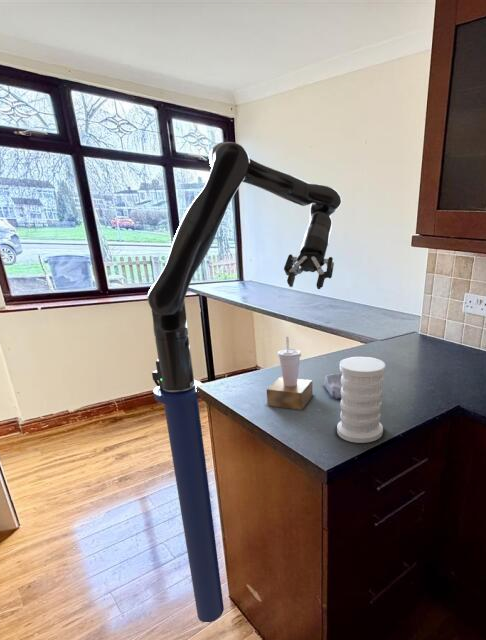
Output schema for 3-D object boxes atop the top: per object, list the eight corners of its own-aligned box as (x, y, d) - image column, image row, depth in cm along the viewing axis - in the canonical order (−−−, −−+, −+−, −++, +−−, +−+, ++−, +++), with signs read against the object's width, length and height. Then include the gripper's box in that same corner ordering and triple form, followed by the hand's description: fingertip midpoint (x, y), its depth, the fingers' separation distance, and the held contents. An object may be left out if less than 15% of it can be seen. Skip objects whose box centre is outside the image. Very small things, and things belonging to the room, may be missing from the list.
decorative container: (327, 428, 102) (328, 361, 96) (363, 416, 109) (365, 353, 103) (356, 448, 94) (358, 375, 88) (392, 433, 101) (397, 366, 95)
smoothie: (274, 384, 115) (271, 336, 110) (291, 378, 120) (289, 332, 114) (289, 390, 111) (288, 341, 106) (306, 384, 116) (305, 336, 111)
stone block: (350, 387, 133) (320, 384, 128) (353, 374, 131) (324, 370, 127) (361, 403, 122) (330, 401, 118) (365, 389, 121) (334, 386, 117)
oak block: (267, 405, 113) (266, 389, 111) (280, 392, 122) (280, 376, 121) (301, 409, 112) (301, 393, 110) (312, 395, 121) (312, 380, 119)
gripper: (290, 233, 122) (277, 276, 116) (336, 235, 120) (325, 280, 114) (296, 250, 129) (284, 292, 123) (339, 253, 127) (330, 296, 121)
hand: (304, 286), depth 118 cm, fingers open, 8 cm apart
